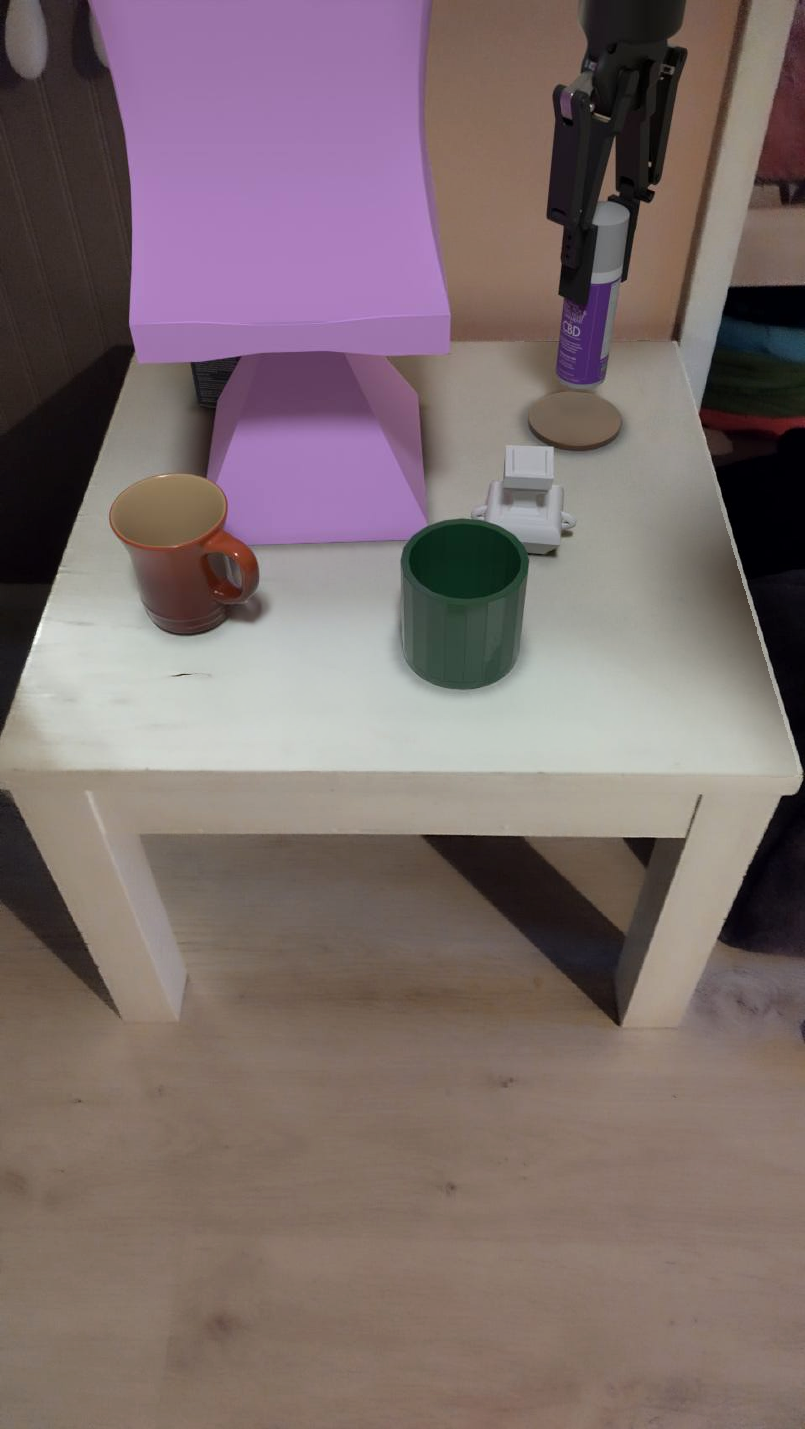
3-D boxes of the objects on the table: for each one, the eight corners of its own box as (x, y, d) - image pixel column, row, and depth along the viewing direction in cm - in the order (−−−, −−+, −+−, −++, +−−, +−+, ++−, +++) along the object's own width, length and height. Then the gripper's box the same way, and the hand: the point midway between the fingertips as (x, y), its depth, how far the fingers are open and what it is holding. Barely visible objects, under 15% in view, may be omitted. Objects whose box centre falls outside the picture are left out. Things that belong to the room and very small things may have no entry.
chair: (431, 400, 101) (437, -198, 67) (444, 549, 87) (461, -112, 52) (207, 407, 101) (96, -190, 66) (184, 558, 87) (27, -101, 52)
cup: (543, 645, 80) (555, 559, 73) (463, 708, 76) (468, 624, 69) (458, 588, 84) (461, 502, 77) (378, 646, 80) (374, 560, 73)
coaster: (639, 422, 99) (640, 417, 98) (581, 463, 95) (582, 457, 94) (567, 386, 103) (568, 380, 102) (508, 423, 99) (509, 418, 98)
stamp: (574, 517, 90) (586, 437, 83) (572, 568, 85) (584, 488, 79) (473, 510, 90) (477, 429, 84) (465, 559, 86) (469, 479, 80)
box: (251, 412, 101) (236, 309, 92) (196, 407, 101) (177, 305, 93) (270, 368, 106) (257, 267, 97) (217, 364, 106) (200, 263, 98)
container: (548, 383, 94) (566, 220, 82) (563, 357, 97) (582, 196, 85) (597, 394, 93) (623, 229, 81) (610, 367, 96) (637, 205, 84)
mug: (115, 620, 82) (83, 521, 74) (185, 558, 87) (162, 459, 79) (231, 678, 78) (210, 580, 70) (298, 610, 83) (286, 511, 75)
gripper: (668, -73, 76) (620, 238, 94) (511, -18, 68) (492, 309, 86) (755, -54, 72) (688, 265, 90) (600, 6, 64) (560, 343, 82)
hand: (592, 286), depth 88 cm, fingers closed on container, 5 cm apart
